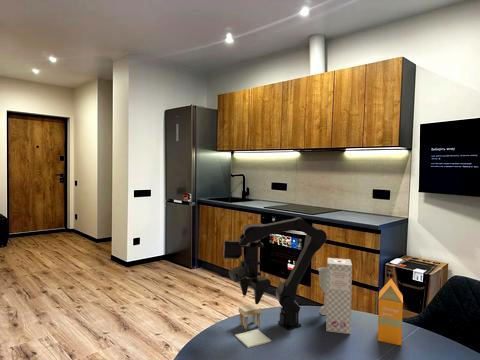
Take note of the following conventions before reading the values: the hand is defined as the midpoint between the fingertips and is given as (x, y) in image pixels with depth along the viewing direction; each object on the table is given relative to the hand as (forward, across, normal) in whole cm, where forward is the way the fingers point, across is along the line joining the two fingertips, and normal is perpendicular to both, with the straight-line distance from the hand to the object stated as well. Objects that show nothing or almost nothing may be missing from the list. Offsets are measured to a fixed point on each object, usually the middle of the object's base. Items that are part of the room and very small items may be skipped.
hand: (250, 299), depth 127 cm
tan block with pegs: (+10, 0, 0) cm, 10 cm away
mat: (+10, +9, -4) cm, 14 cm away
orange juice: (+10, +30, +40) cm, 51 cm away
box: (+10, +16, +29) cm, 35 cm away
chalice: (+10, +4, +34) cm, 36 cm away
